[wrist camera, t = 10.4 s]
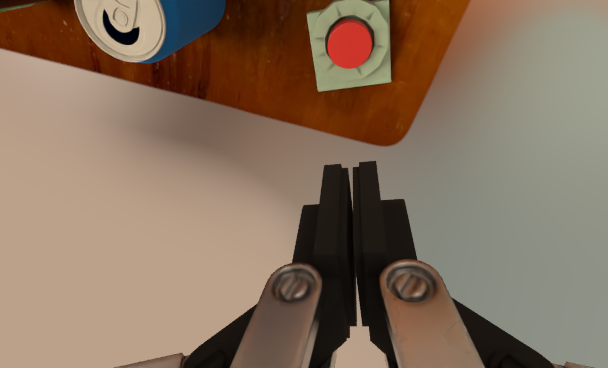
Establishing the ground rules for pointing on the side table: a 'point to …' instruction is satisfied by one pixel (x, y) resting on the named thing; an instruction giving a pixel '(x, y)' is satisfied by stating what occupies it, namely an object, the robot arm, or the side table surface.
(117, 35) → the beverage can
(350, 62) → the button
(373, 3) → the button block
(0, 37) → the side table surface
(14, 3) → the supplement bottle
